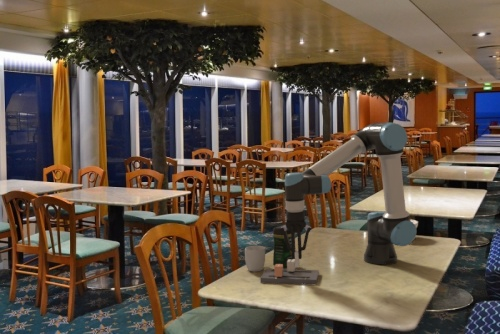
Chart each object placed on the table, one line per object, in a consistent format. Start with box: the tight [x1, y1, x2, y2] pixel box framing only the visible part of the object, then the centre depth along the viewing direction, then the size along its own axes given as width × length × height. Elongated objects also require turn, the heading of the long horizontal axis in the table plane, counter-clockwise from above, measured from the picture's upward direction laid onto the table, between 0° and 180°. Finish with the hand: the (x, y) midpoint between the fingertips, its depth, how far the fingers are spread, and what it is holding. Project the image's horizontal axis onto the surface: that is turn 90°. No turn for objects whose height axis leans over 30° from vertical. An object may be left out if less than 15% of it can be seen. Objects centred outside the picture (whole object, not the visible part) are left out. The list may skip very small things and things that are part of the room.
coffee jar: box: [272, 224, 293, 268], centre depth 252 cm, size 10×8×19 cm
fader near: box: [274, 264, 284, 277], centre depth 229 cm, size 3×4×4 cm
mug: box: [244, 245, 266, 273], centre depth 248 cm, size 13×9×10 cm
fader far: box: [286, 259, 296, 272], centre depth 236 cm, size 3×4×4 cm
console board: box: [259, 268, 320, 285], centre depth 232 cm, size 23×15×2 cm, turn 79°
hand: (297, 266), depth 229 cm, fingers closed
